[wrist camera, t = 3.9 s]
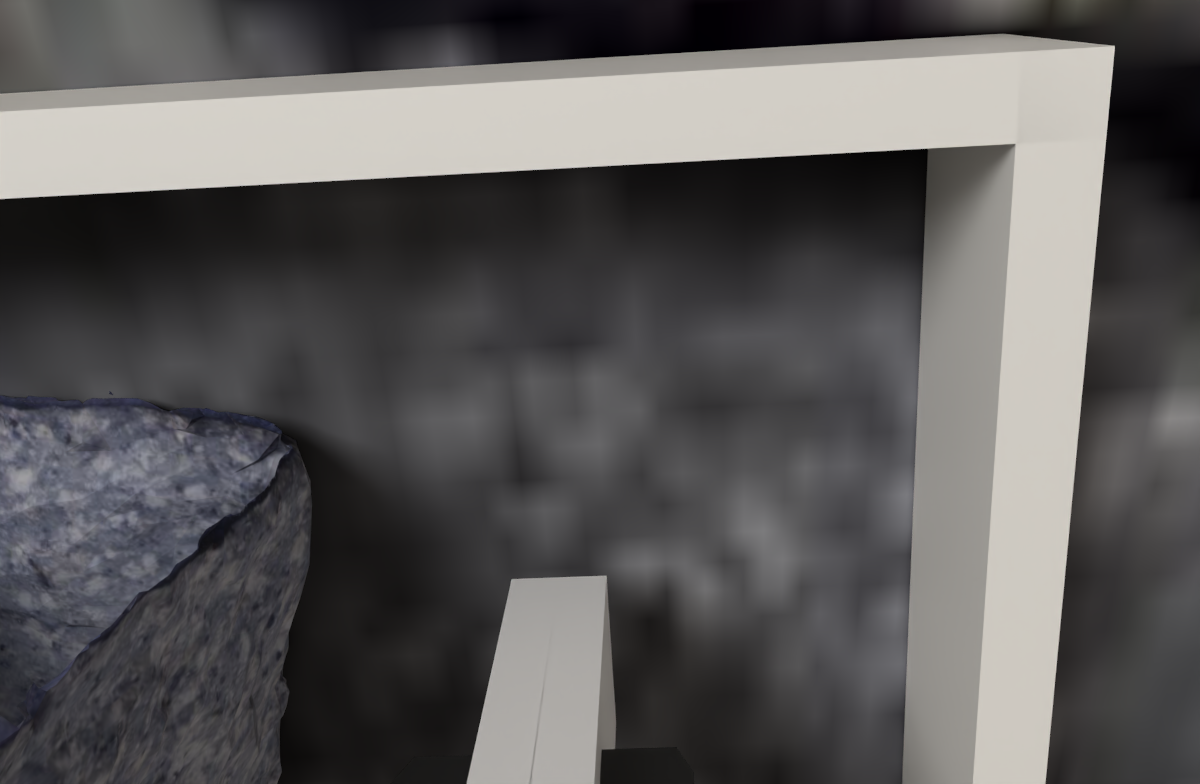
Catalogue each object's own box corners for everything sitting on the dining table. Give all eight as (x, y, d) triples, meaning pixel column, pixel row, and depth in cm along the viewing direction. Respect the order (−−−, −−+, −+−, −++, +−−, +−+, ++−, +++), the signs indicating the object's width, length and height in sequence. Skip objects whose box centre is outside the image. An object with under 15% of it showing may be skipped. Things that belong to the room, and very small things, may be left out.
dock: (-4, 996, 23) (-131, 1192, 19) (-290, 110, 17) (-557, 144, 13) (944, 983, 22) (1007, 1188, 18) (1002, 33, 16) (1115, 45, 12)
